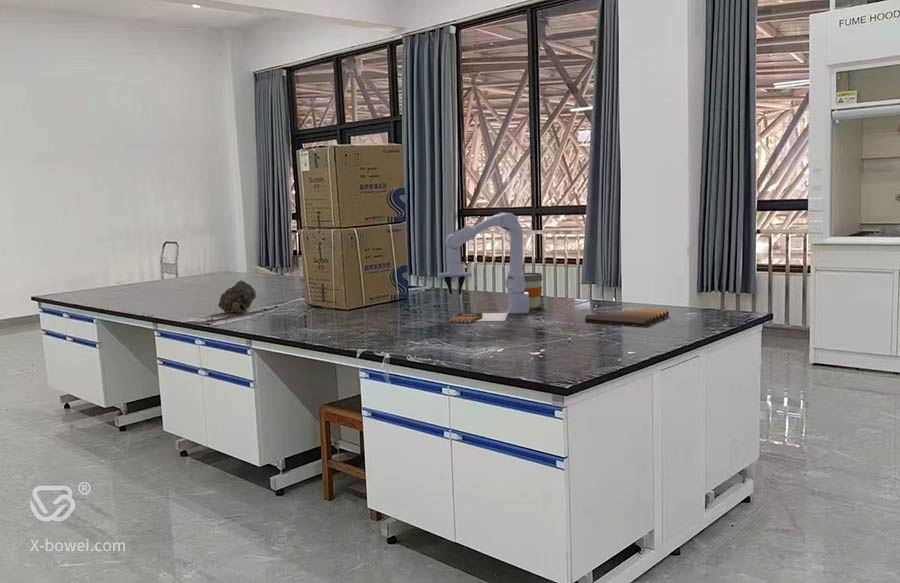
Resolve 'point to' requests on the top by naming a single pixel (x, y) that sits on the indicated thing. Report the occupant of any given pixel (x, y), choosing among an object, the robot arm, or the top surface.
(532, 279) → the reusable coffee cup
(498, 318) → the mat
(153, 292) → the top surface
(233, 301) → the rock
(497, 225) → the robot arm
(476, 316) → the ammunition clip
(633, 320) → the pan flute
